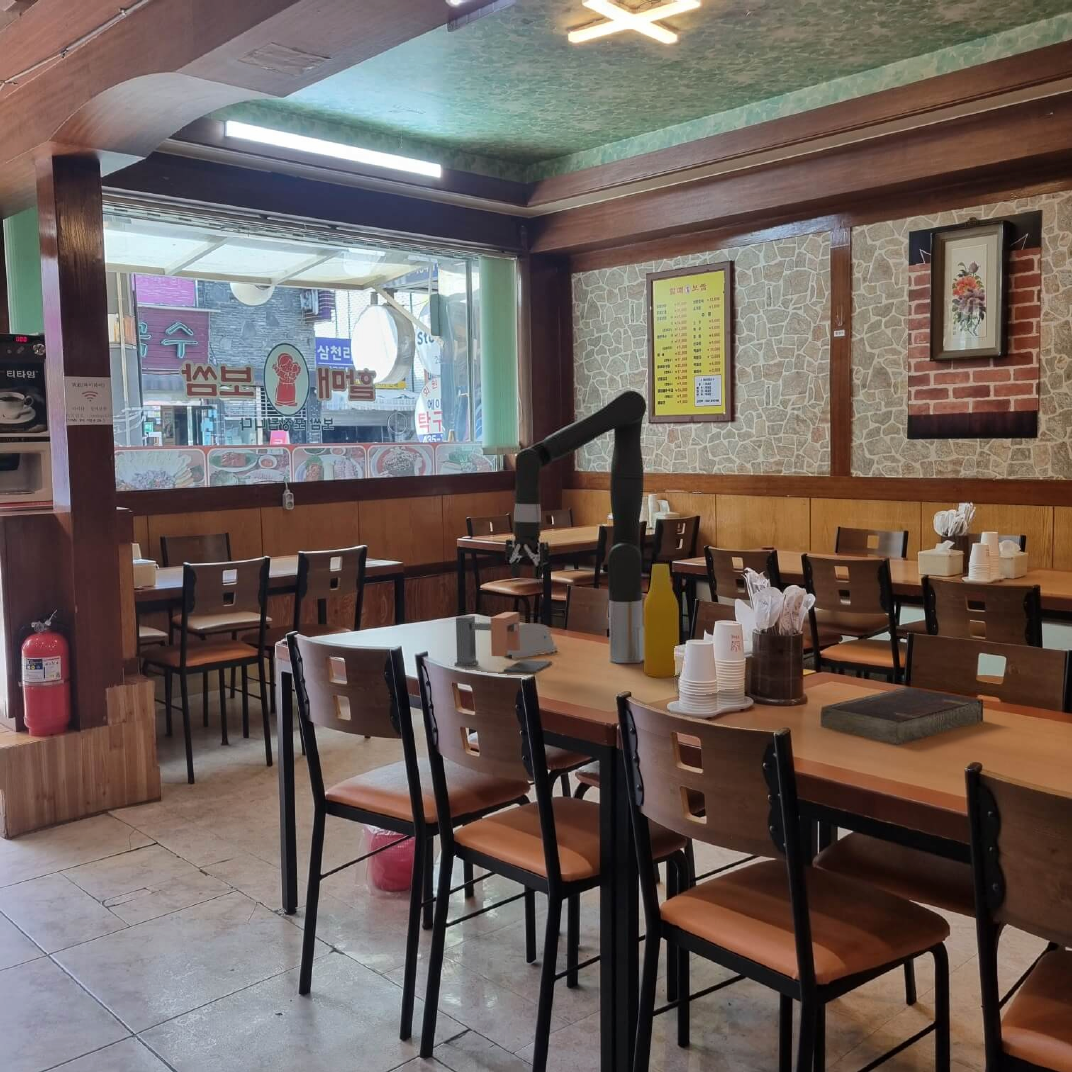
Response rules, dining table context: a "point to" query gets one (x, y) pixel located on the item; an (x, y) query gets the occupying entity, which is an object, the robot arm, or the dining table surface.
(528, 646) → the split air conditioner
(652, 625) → the beer bottle
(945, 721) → the hardback book
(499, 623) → the pink block
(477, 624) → the bracket
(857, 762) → the dining table surface
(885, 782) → the dining table surface
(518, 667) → the mat
